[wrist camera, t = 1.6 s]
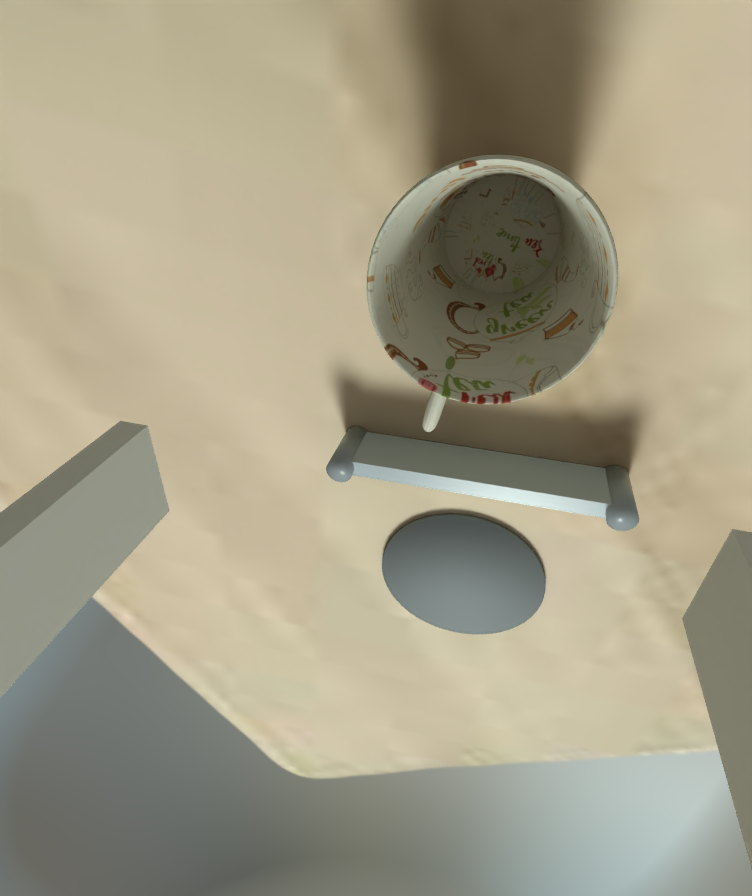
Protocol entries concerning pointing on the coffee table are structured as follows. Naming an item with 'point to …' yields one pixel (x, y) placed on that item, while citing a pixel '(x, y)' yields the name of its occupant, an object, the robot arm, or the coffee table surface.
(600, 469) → the fence
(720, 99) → the coffee table surface
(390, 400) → the coffee table surface
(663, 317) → the coffee table surface
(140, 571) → the coffee table surface
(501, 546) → the coaster
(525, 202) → the mug
